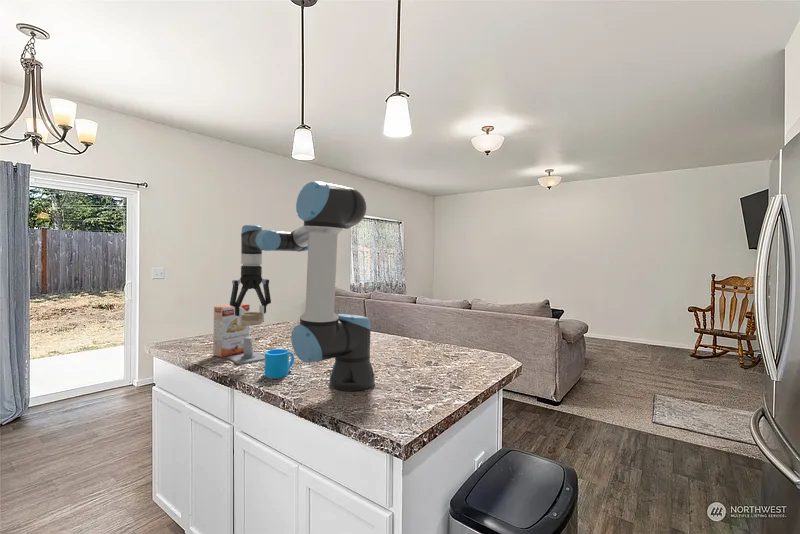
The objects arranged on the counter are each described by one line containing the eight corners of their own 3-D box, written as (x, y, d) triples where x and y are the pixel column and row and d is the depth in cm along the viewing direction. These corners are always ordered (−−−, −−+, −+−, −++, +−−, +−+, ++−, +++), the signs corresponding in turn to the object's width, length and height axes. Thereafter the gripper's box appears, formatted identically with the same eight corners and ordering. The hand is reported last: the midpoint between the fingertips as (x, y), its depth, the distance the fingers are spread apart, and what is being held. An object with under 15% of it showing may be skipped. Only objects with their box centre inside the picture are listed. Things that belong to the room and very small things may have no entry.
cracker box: (222, 357, 153) (222, 307, 153) (212, 355, 156) (212, 306, 155) (249, 350, 166) (250, 303, 165) (240, 348, 168) (240, 302, 168)
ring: (264, 324, 146) (265, 314, 146) (244, 326, 140) (244, 315, 140) (256, 320, 151) (256, 311, 151) (236, 323, 146) (236, 312, 146)
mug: (275, 379, 128) (275, 356, 128) (259, 375, 132) (259, 352, 132) (301, 370, 138) (301, 348, 138) (285, 367, 142) (286, 345, 142)
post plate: (268, 359, 152) (268, 338, 152) (238, 364, 144) (238, 342, 144) (256, 353, 161) (256, 333, 161) (227, 358, 153) (227, 337, 153)
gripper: (272, 264, 155) (271, 318, 156) (220, 264, 140) (219, 324, 141) (281, 265, 149) (280, 321, 150) (227, 265, 135) (226, 327, 136)
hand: (250, 322), depth 146 cm, fingers closed on ring, 8 cm apart
